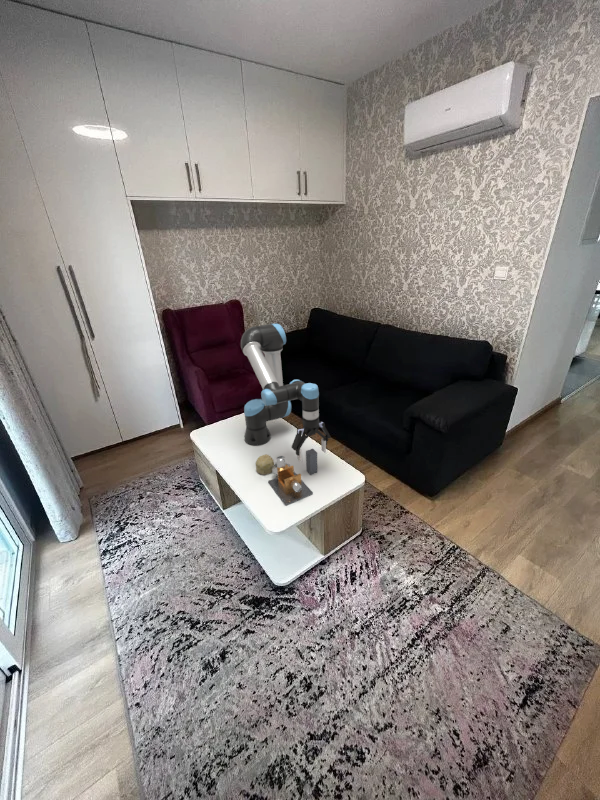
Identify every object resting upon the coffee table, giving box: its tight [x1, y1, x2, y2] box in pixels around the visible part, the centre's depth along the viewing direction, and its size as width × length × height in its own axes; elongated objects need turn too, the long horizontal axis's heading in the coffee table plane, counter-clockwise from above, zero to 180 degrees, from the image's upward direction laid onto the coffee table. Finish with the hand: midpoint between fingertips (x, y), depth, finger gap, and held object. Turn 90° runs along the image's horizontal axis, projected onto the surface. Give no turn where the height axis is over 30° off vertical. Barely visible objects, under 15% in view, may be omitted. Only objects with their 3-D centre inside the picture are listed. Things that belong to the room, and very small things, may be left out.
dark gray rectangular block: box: [305, 448, 318, 476], centre depth 161 cm, size 4×4×12 cm
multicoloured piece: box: [267, 455, 314, 507], centre depth 152 cm, size 22×14×12 cm, turn 29°
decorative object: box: [255, 454, 275, 476], centre depth 165 cm, size 9×10×10 cm
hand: (311, 455), depth 159 cm, fingers open, 13 cm apart
